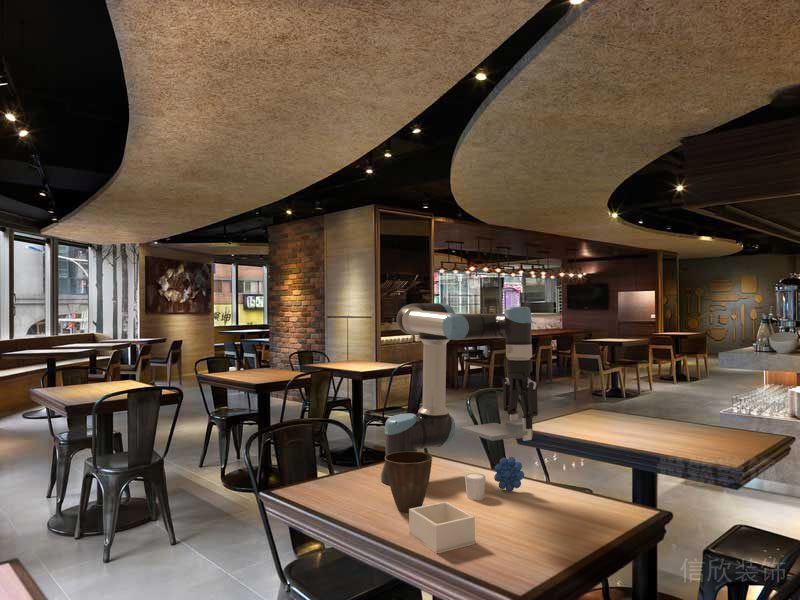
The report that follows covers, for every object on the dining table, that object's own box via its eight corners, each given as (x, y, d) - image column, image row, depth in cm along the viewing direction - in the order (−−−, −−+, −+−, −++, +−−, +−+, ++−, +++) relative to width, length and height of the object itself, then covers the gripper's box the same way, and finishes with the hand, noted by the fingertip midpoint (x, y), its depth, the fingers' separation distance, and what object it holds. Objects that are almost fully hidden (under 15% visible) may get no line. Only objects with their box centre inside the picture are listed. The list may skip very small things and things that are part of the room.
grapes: (531, 492, 185) (530, 456, 185) (520, 497, 180) (519, 460, 180) (501, 485, 193) (500, 450, 193) (490, 489, 188) (490, 454, 188)
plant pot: (378, 504, 175) (378, 453, 176) (421, 497, 181) (420, 449, 181) (395, 520, 162) (394, 465, 162) (441, 512, 167) (440, 459, 168)
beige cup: (473, 492, 186) (473, 471, 186) (490, 497, 181) (489, 475, 181) (460, 497, 181) (460, 476, 181) (477, 502, 176) (477, 480, 176)
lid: (460, 437, 160) (460, 423, 160) (510, 430, 169) (510, 417, 169) (491, 447, 147) (491, 432, 147) (544, 439, 156) (543, 425, 156)
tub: (409, 534, 151) (409, 508, 151) (446, 526, 156) (445, 501, 157) (436, 553, 138) (435, 525, 139) (475, 543, 144) (474, 516, 144)
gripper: (489, 357, 168) (491, 433, 167) (530, 361, 152) (531, 445, 151) (509, 356, 172) (510, 431, 171) (550, 360, 156) (552, 442, 155)
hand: (520, 437), depth 161 cm, fingers closed on lid, 5 cm apart
